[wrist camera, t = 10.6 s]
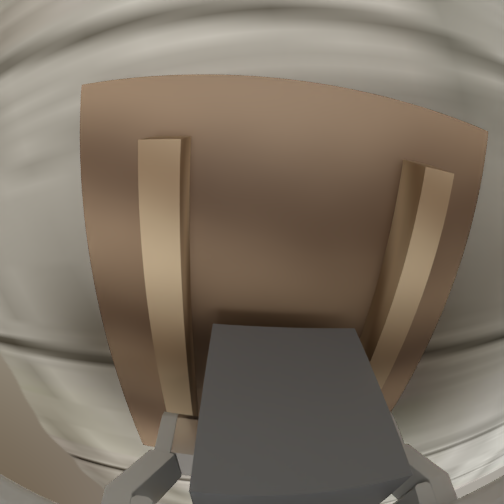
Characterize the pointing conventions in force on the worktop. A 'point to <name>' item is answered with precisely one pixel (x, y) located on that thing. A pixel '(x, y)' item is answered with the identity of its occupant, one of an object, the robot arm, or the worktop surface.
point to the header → (267, 222)
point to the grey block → (293, 421)
